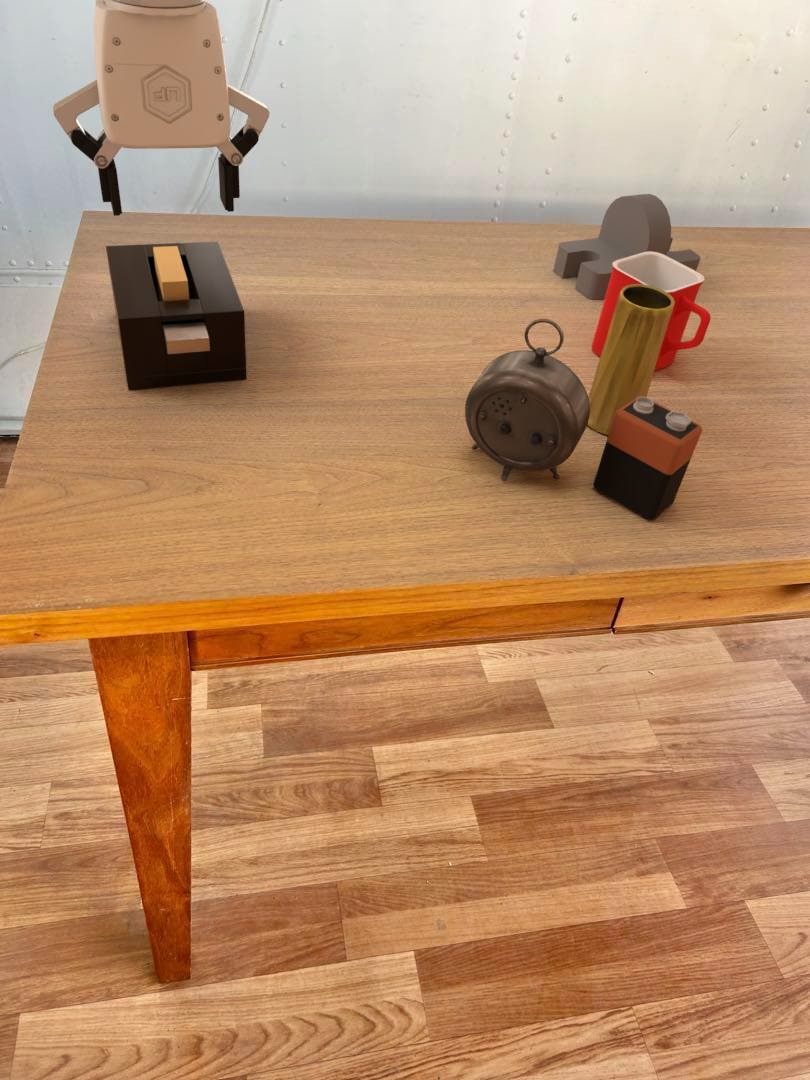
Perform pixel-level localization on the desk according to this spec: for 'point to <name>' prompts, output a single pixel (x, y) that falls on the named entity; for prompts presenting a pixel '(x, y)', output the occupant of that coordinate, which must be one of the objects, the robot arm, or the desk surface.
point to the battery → (646, 456)
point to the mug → (669, 279)
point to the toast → (170, 274)
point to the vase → (629, 352)
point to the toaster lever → (186, 338)
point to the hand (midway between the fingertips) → (172, 207)
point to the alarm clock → (527, 410)
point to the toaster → (177, 317)
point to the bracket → (619, 243)
